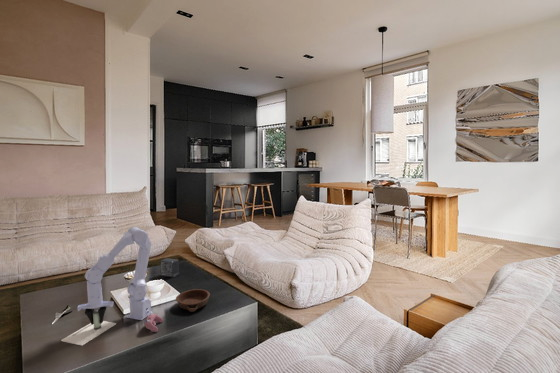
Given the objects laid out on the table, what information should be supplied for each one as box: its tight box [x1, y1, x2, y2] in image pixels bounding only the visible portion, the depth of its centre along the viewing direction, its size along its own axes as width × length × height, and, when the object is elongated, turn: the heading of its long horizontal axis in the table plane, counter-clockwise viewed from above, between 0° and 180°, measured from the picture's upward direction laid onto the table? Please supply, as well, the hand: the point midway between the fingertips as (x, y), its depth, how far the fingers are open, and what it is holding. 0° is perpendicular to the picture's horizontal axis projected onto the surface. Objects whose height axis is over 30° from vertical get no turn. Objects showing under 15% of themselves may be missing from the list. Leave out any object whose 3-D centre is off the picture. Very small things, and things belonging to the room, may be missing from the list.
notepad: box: [60, 320, 117, 347], centre depth 144 cm, size 12×18×1 cm, turn 162°
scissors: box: [51, 304, 73, 325], centre depth 161 cm, size 8×21×2 cm, turn 10°
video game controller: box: [144, 312, 164, 333], centre depth 147 cm, size 10×5×7 cm, turn 6°
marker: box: [92, 309, 101, 330], centre depth 146 cm, size 3×3×8 cm
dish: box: [175, 288, 211, 313], centre depth 169 cm, size 18×22×5 cm
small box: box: [159, 257, 180, 279], centre depth 211 cm, size 11×6×10 cm, turn 66°
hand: (97, 323), depth 146 cm, fingers closed on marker, 3 cm apart
